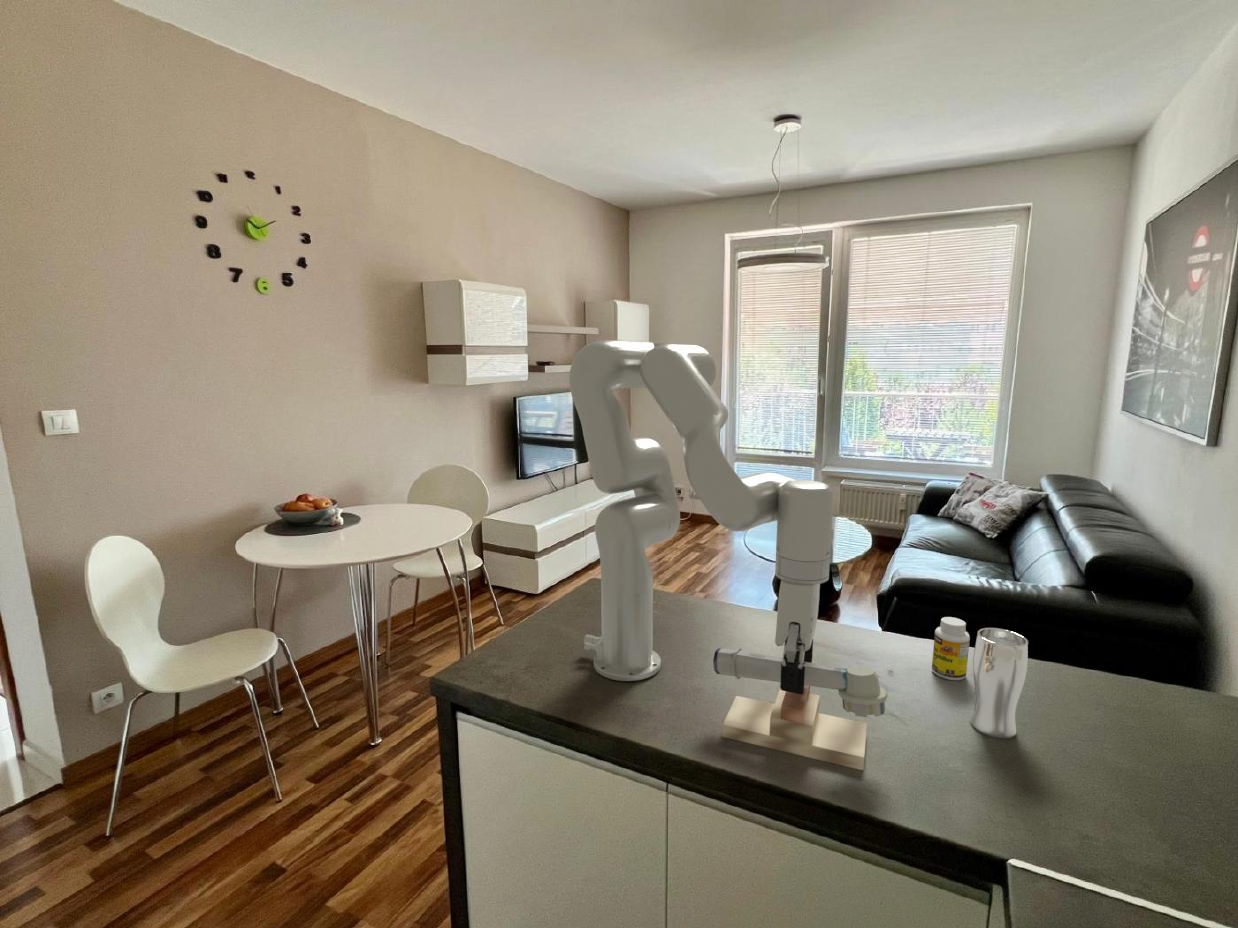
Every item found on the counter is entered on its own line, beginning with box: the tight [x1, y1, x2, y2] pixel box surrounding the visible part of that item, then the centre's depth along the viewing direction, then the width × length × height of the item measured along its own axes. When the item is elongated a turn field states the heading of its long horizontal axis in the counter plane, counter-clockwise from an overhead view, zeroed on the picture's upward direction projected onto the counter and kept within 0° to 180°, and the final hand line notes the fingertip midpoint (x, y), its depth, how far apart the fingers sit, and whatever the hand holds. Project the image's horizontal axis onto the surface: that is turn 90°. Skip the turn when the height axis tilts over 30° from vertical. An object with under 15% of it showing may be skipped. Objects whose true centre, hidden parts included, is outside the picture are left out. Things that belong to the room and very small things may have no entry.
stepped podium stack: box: [722, 685, 868, 771], centre depth 94 cm, size 20×9×7 cm, turn 66°
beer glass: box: [970, 627, 1029, 740], centre depth 95 cm, size 7×7×15 cm
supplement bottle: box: [931, 616, 971, 681], centre depth 112 cm, size 6×6×10 cm
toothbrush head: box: [712, 647, 888, 718], centre depth 93 cm, size 5×7×25 cm
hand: (796, 675), depth 93 cm, fingers open, 9 cm apart
